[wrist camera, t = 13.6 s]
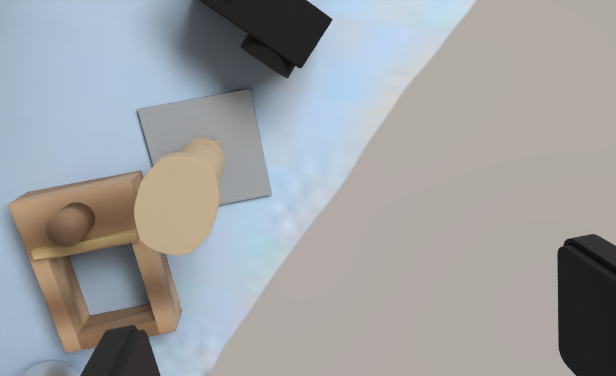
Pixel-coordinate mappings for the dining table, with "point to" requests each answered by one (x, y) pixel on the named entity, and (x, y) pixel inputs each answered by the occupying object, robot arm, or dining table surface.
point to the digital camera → (276, 29)
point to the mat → (213, 138)
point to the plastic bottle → (52, 369)
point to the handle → (180, 198)
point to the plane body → (88, 237)
